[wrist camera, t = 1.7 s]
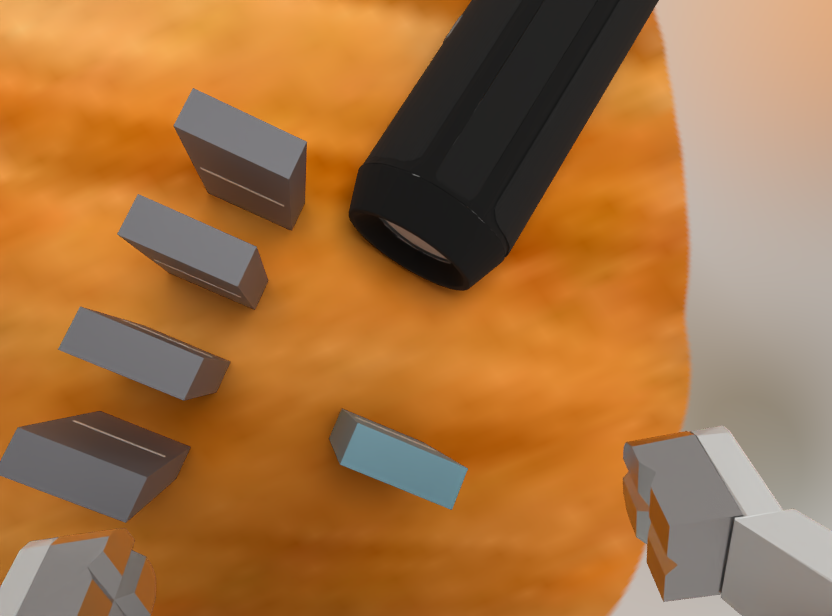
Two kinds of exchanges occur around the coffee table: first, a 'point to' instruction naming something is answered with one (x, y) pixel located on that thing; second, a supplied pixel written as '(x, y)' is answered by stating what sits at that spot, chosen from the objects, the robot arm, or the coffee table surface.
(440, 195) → the portable speaker
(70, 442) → the domino
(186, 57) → the coffee table surface
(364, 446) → the domino
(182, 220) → the domino
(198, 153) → the domino
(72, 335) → the domino
